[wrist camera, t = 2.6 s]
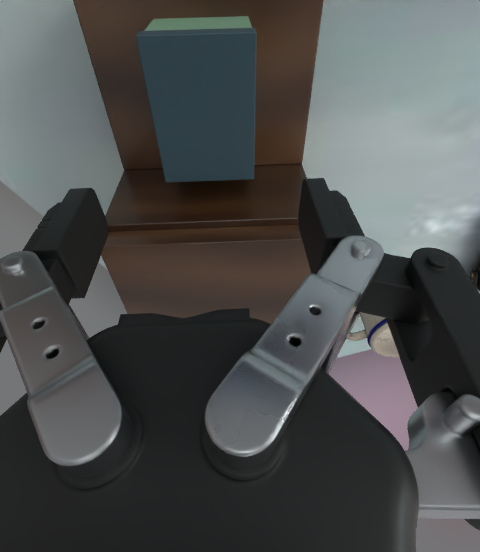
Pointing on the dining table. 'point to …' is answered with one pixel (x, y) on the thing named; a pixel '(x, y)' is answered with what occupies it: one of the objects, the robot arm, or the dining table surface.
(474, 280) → the carrying case
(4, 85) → the dining table surface
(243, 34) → the box
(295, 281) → the shelf riser
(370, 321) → the teacup with lid
